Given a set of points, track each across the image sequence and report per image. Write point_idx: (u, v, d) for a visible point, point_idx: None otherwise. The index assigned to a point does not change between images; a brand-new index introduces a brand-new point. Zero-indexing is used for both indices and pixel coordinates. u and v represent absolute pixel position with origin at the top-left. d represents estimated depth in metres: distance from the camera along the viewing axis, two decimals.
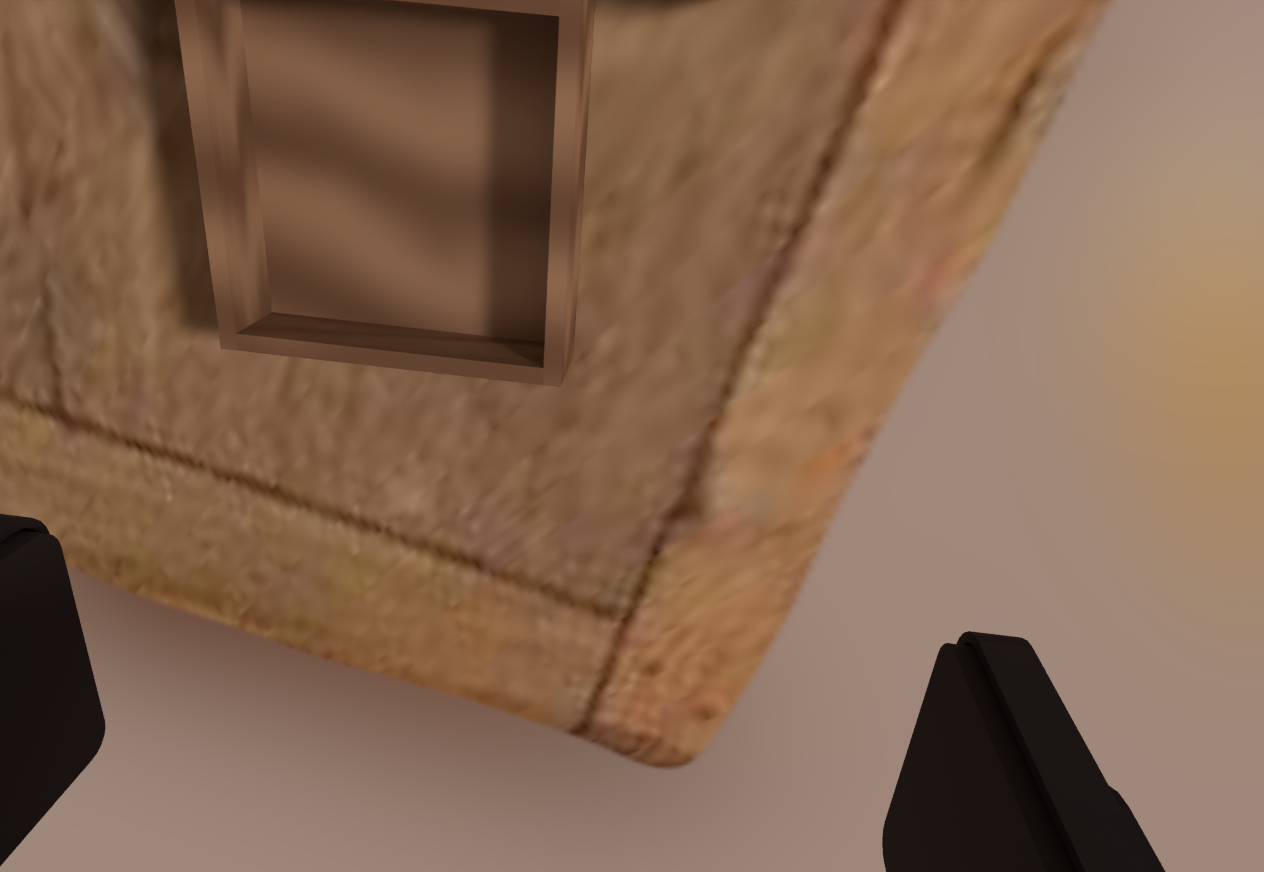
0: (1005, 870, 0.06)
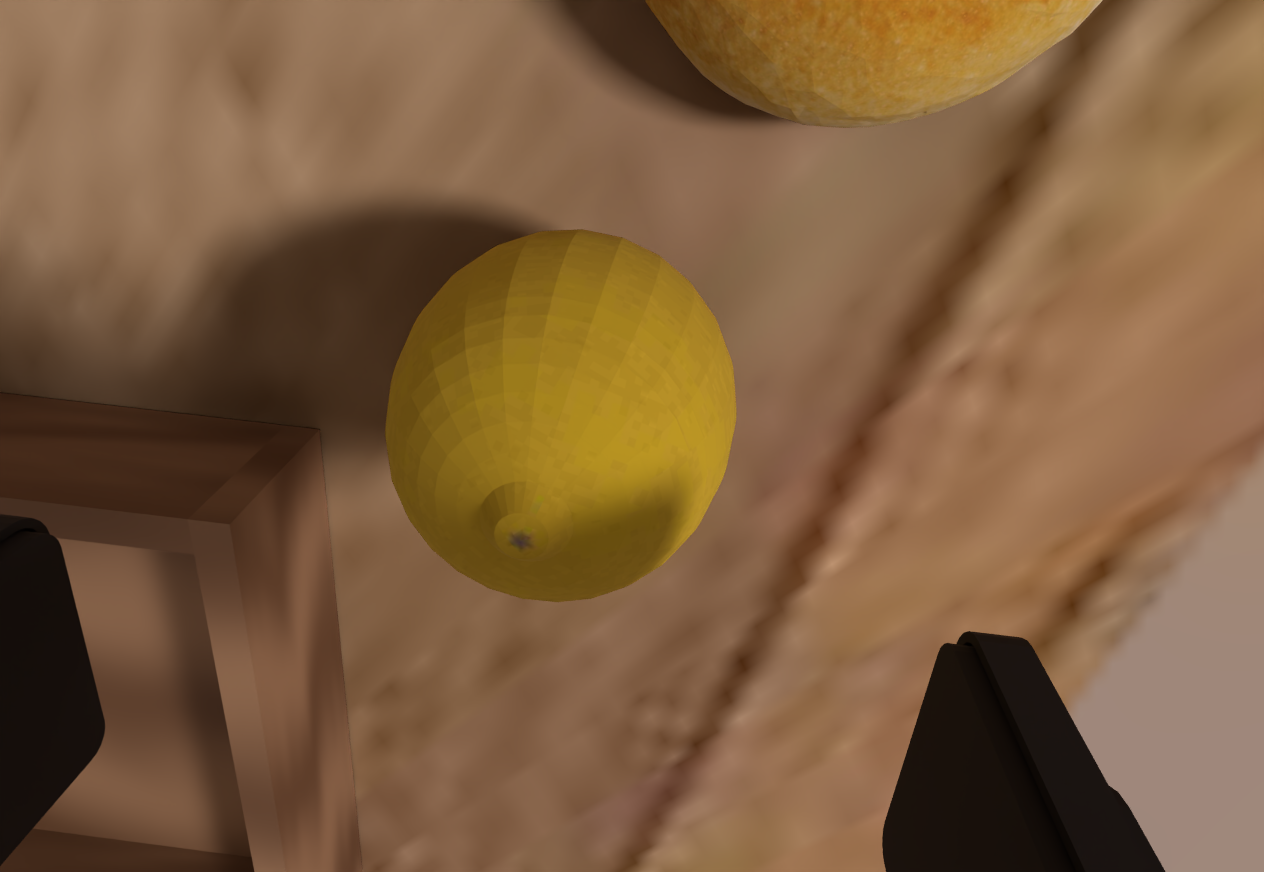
0: (1005, 870, 0.06)
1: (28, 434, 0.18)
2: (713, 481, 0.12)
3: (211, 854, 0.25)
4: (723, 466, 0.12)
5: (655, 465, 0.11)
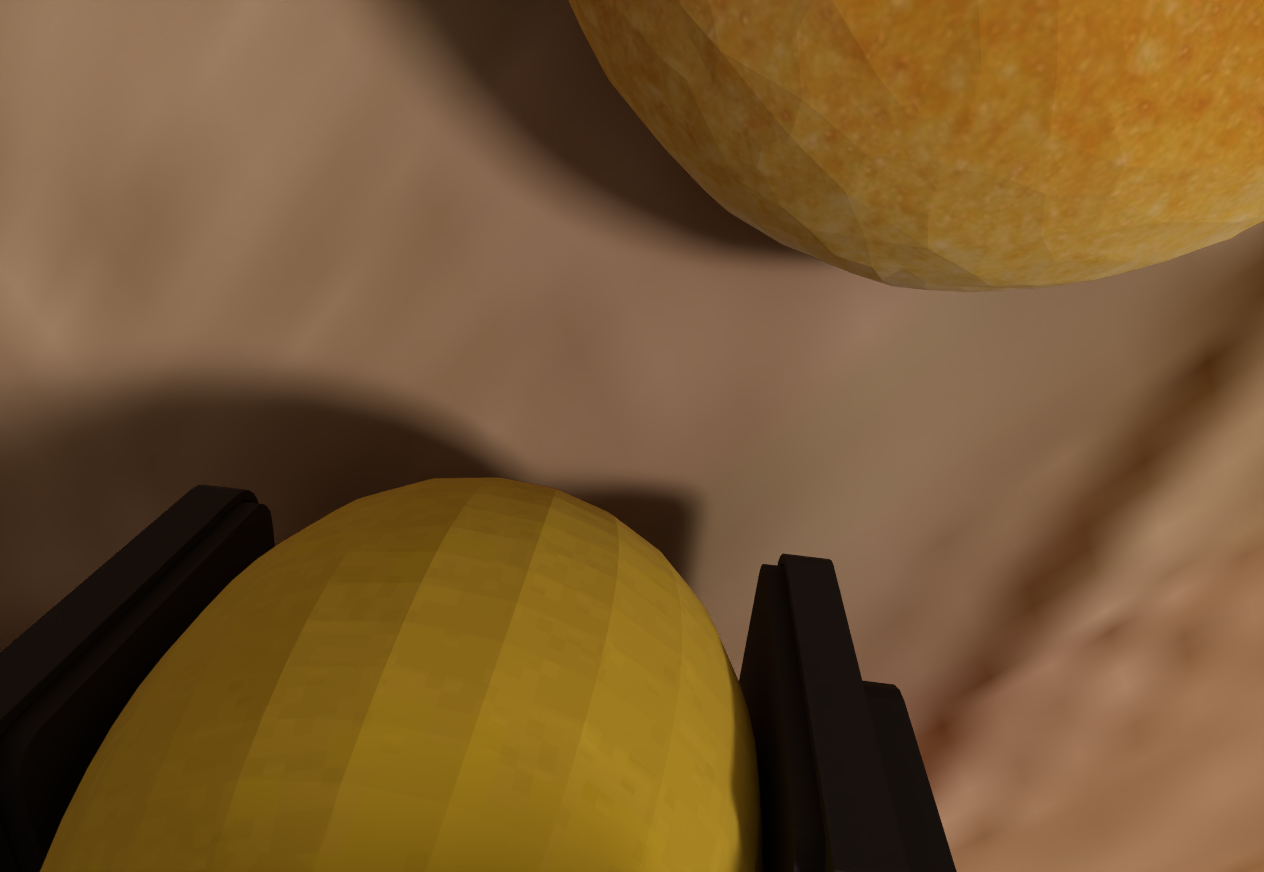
0: (770, 742, 0.07)
1: None
2: None
3: None
4: None
5: None
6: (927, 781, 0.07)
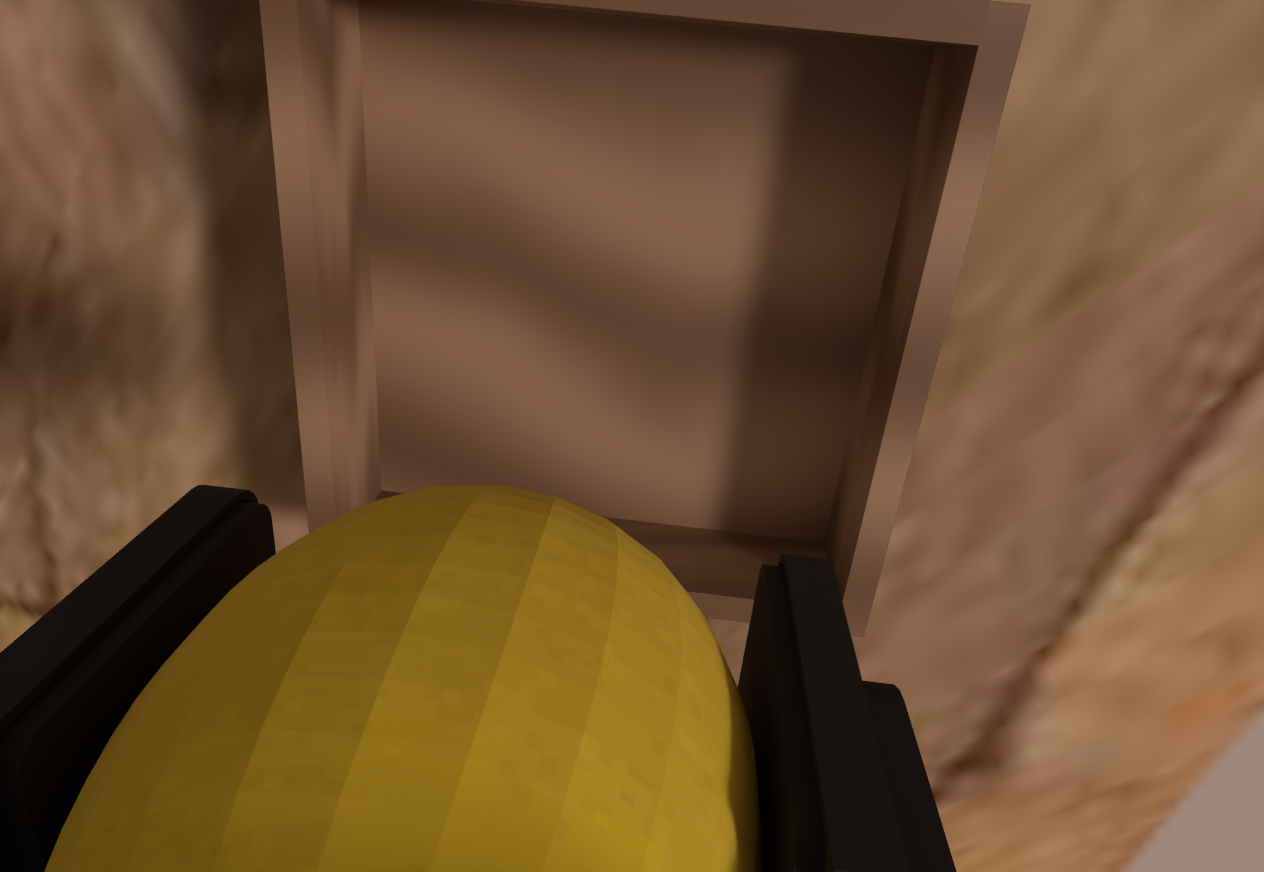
0: (769, 742, 0.07)
1: None
2: None
3: (710, 530, 0.26)
4: None
5: None
6: (927, 781, 0.07)
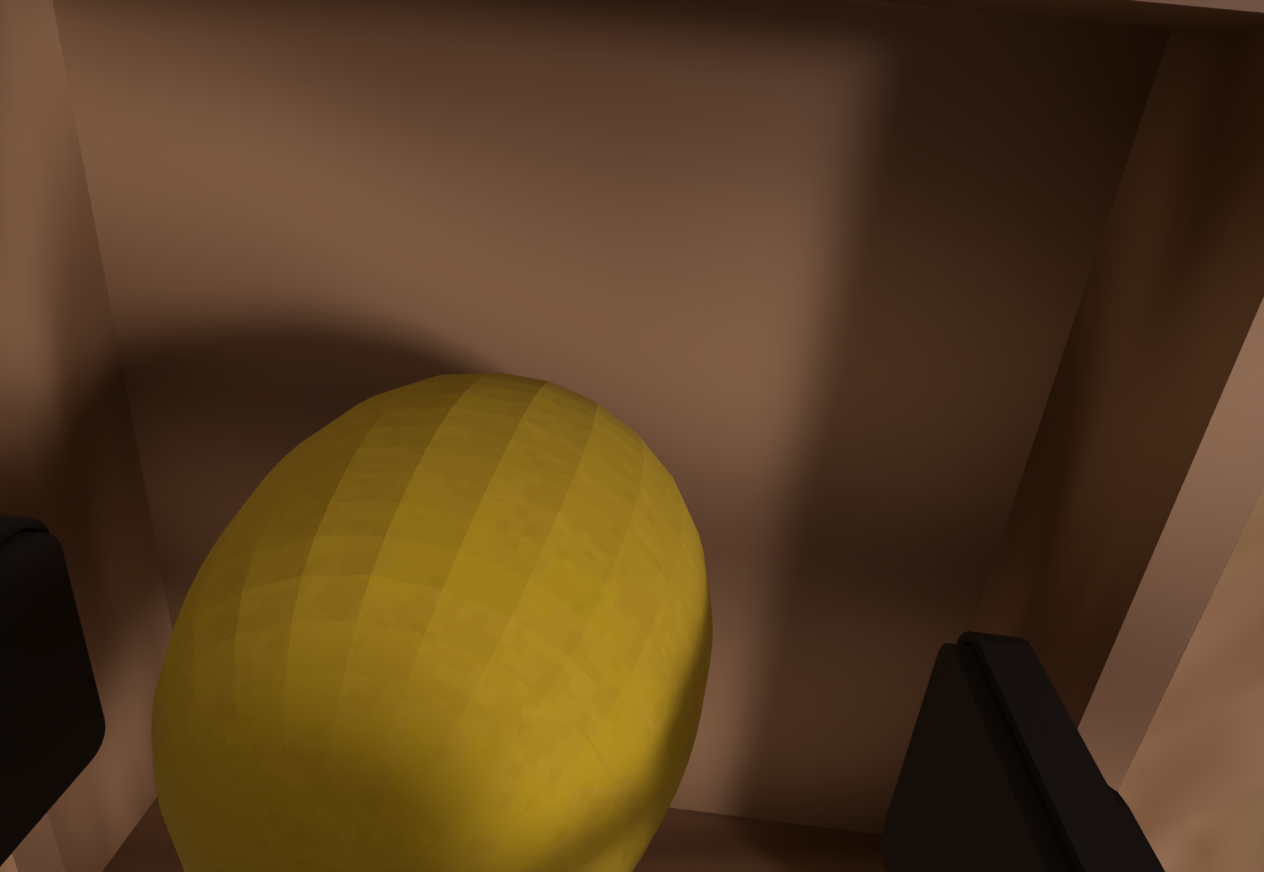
0: (1005, 869, 0.06)
1: None
2: (666, 794, 0.08)
3: (718, 816, 0.16)
4: (686, 754, 0.08)
5: (550, 827, 0.06)
6: None
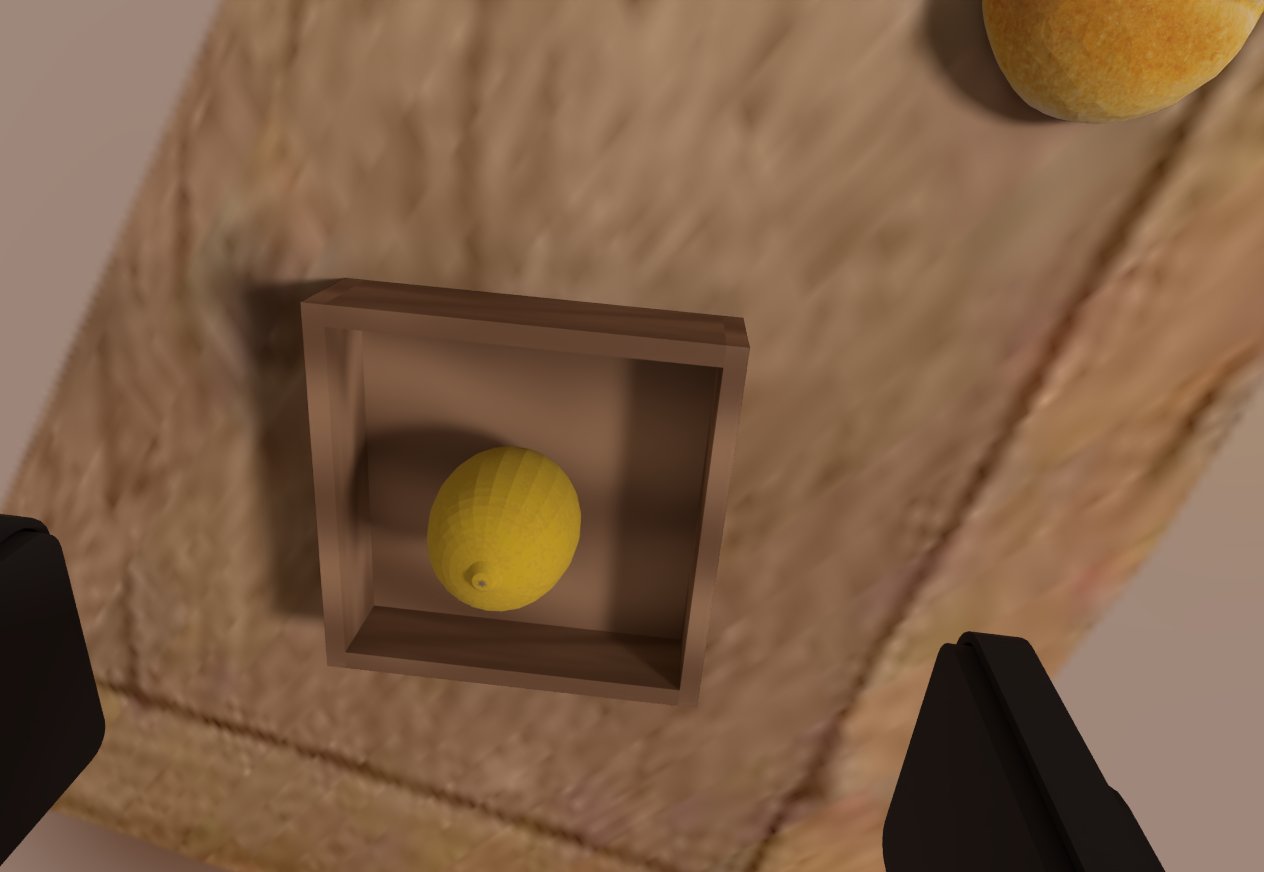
0: (1005, 870, 0.06)
1: (593, 314, 0.30)
2: (563, 556, 0.29)
3: (602, 631, 0.37)
4: (570, 550, 0.29)
5: (533, 552, 0.28)
6: None
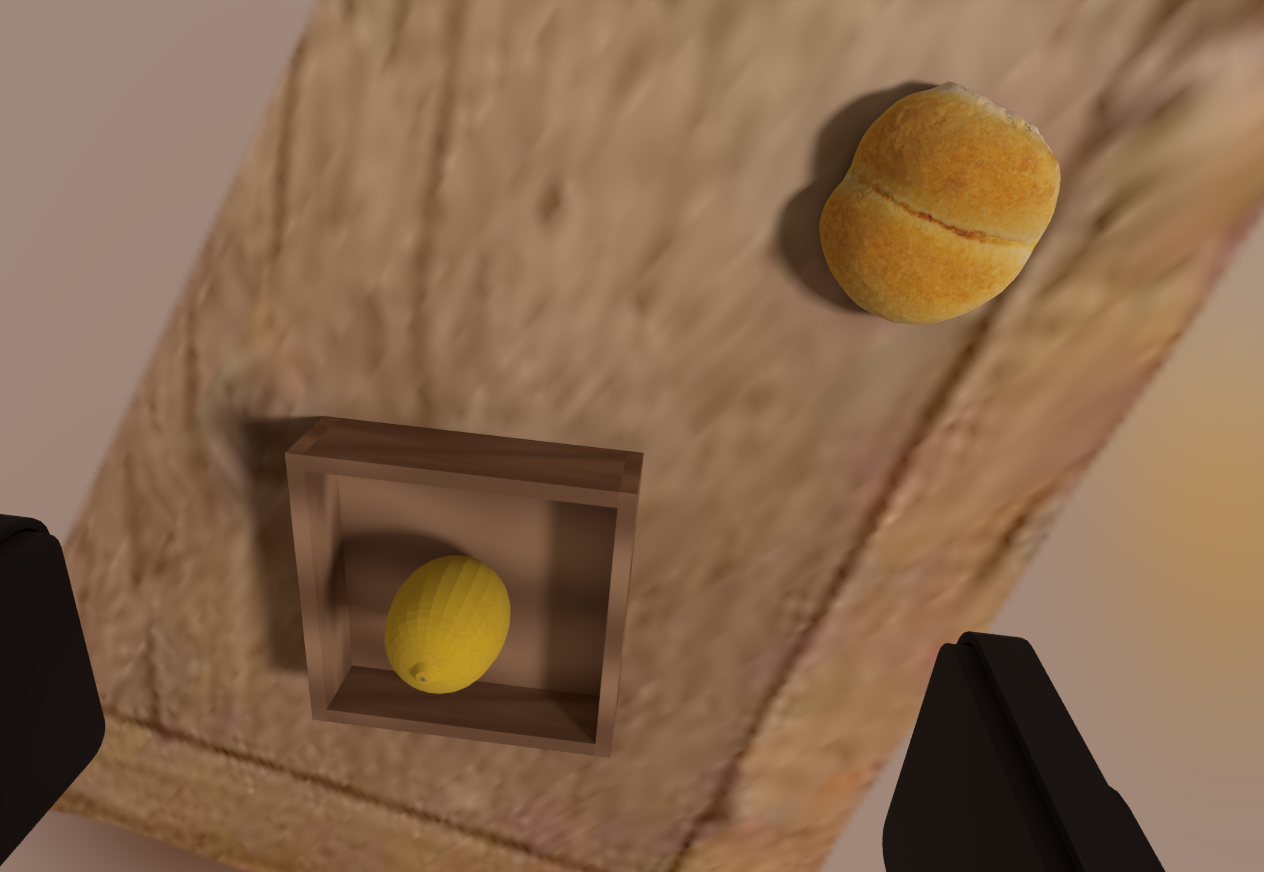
0: (1005, 870, 0.06)
1: (520, 455, 0.38)
2: (490, 652, 0.37)
3: (538, 689, 0.45)
4: (496, 645, 0.37)
5: (464, 653, 0.35)
6: None
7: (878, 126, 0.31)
